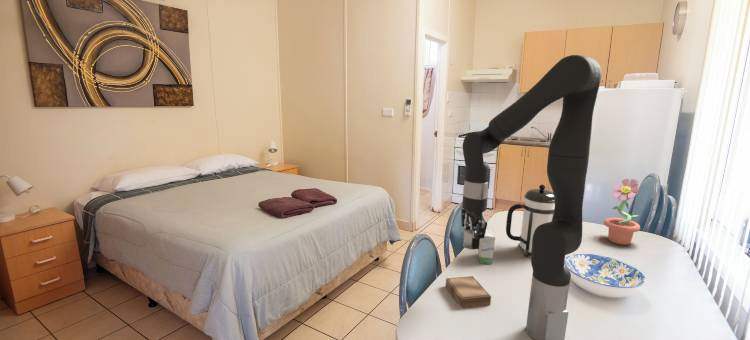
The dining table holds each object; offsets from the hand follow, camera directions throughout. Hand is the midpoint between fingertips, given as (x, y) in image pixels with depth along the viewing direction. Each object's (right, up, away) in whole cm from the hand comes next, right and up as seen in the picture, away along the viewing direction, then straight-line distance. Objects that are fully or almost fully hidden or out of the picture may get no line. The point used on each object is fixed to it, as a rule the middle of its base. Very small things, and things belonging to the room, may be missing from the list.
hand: (471, 244), depth 116 cm
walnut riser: (0, -18, +4) cm, 18 cm away
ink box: (+14, -12, +30) cm, 36 cm away
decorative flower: (+82, -9, +51) cm, 97 cm away
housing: (0, 0, 0) cm, 0 cm away
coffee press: (+36, -11, +38) cm, 53 cm away
